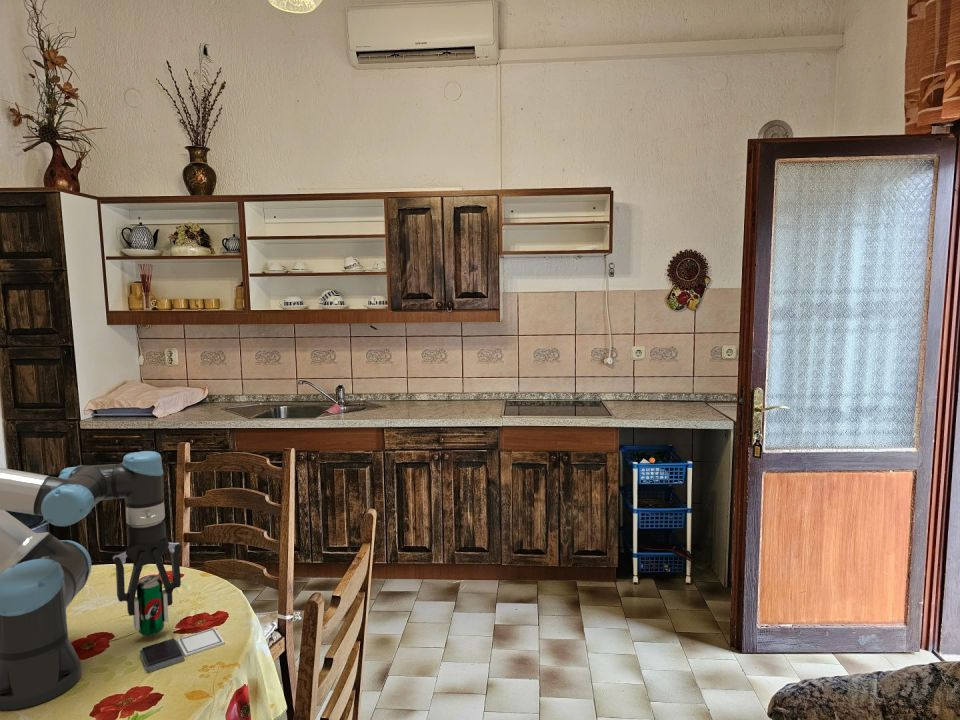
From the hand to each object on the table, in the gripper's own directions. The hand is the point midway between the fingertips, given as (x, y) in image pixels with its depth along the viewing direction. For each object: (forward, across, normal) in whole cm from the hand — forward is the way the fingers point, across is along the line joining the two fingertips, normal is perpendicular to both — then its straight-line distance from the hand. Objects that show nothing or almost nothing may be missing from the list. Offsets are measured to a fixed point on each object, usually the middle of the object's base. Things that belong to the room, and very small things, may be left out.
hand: (151, 623), depth 141 cm
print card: (+3, +8, -10) cm, 13 cm away
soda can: (+2, 0, 0) cm, 2 cm away
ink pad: (+3, 0, -11) cm, 12 cm away
